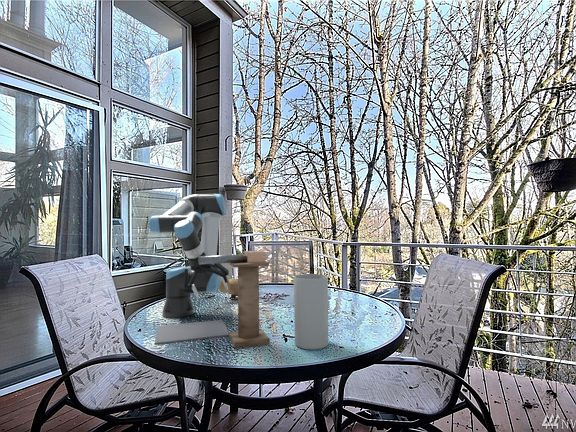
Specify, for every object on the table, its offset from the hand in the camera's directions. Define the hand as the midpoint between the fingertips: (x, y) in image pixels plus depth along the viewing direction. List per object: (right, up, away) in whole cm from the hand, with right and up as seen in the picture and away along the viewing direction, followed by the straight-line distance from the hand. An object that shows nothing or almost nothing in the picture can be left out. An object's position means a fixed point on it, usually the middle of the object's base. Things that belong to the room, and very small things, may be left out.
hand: (212, 292), depth 152 cm
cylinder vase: (+43, -13, -28) cm, 53 cm away
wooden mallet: (+13, +17, -24) cm, 32 cm away
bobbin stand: (+19, -13, -23) cm, 33 cm away
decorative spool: (+4, -15, +53) cm, 55 cm away
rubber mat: (-6, -14, -12) cm, 19 cm away
